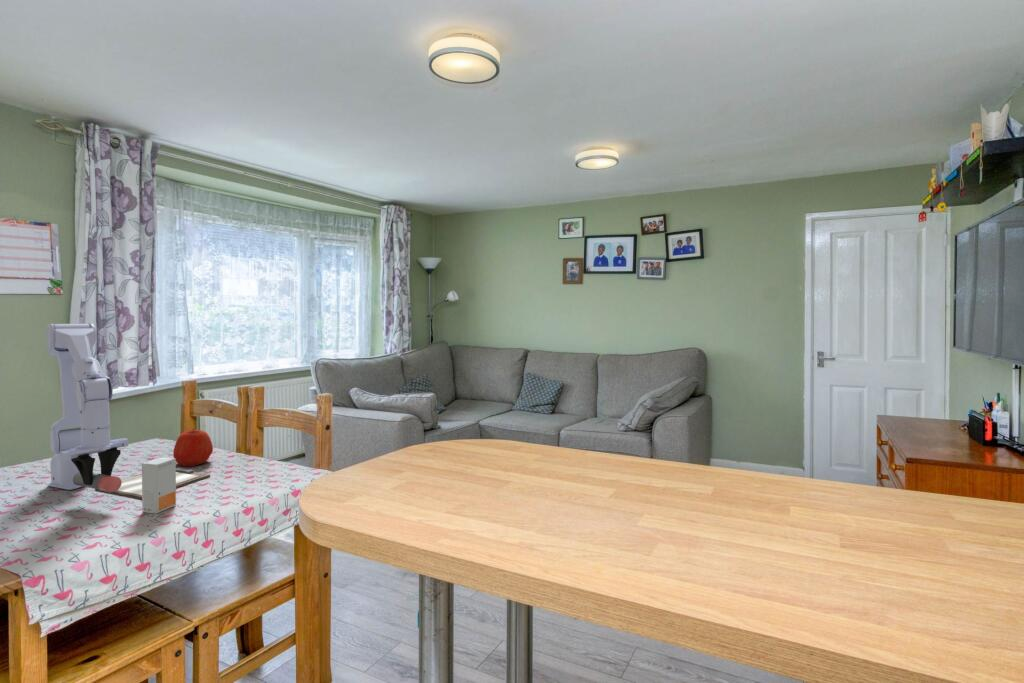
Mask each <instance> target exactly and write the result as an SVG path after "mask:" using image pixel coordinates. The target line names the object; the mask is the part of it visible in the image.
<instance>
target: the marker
mask: <svg viewBox="0 0 1024 683" xmlns="http://www.w3.org/2000/svg"><path fill="white" fill-rule="evenodd" d="M121 480H122V479H121V478H120V477H119V476H115V475H114V476H113V475H111V476H109V475H104V474H101V473H98V472H93V483H92V485H85V484H84V482H83V479H82V477H81V474H80V472H77V473H76V474H75V475H74V477H73V483H74V484H75V485H78V486H83V487H85V488H89V489H94V490H95V489H99V490H104V491H109V492H115V491H117V490H118V489H119V488H120V487H121V484H122V481H121Z"/></svg>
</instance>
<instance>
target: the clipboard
mask: <svg viewBox="0 0 1024 683" xmlns="http://www.w3.org/2000/svg"><path fill="white" fill-rule="evenodd" d="M210 477H211V474H207V473H202V472H196V471H194V469H188V468H183V467H176V489H177V488H181V487H183V486H186V485H190V484H192V482H193V483H195V481H196V482H199V481H201V479H202V480H205V479H208V478H210ZM204 478H205V479H204ZM198 480H199V481H198ZM121 481H122V484H121V487H120V488H119V489H118V490H117V491H115V492H110V493H109V494H113V493H114V494H115V495H118V494H119V496H124V497H129V498H134V499H141V500H142V473H141V474H138V475H137V474H136V475H133V476H130V477H127V478H123V479H121ZM189 483H190V484H189ZM94 490H95V491H98V490H99V489H94ZM103 491H104V490H99V492H103ZM108 492H109V491H104V492H103V493H108Z"/></svg>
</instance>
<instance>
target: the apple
mask: <svg viewBox="0 0 1024 683" xmlns="http://www.w3.org/2000/svg"><path fill="white" fill-rule="evenodd" d="M213 452H214V446H213V443H212V439H211V437H210V436H209V434H208V433H207V431H204V430H199V429H191V430H186V431H183V432H182V433H180V434H179V436H178V437H177V440H176V442H175V444H174V447H173V452H172V453H173V458H175V459H176V465H179V466H181V467H182V466H183V467H194V466H198V465H200V464H203V463H206V462H207V461H208V460H209V458H210V456H211V455H212V454H213Z"/></svg>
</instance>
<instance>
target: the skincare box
mask: <svg viewBox="0 0 1024 683" xmlns="http://www.w3.org/2000/svg"><path fill="white" fill-rule="evenodd" d="M176 465H177V462H176V459H175V458H174V457H159V458H156V459H152V460H149V461H146V462H144V463H143V462H142V463H141V474H142V499H141V501H142V502H141V504H142V506H141V508H142V510H141V511H142V513H146V514H154V515H155V514H159V513H161V512H164V511H166V510H168V509H170V508H173V507H176V505H177V488H176V468H177V467H176Z"/></svg>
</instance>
